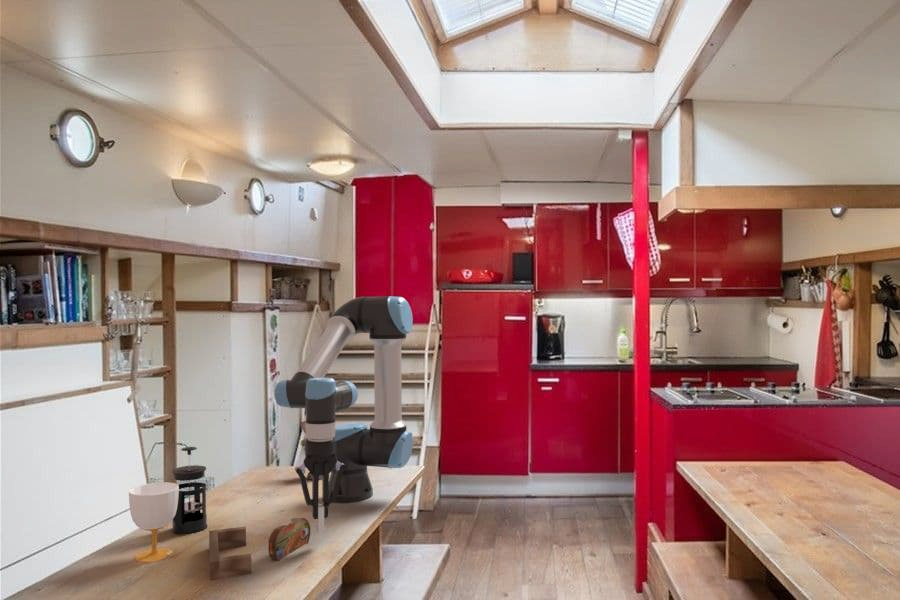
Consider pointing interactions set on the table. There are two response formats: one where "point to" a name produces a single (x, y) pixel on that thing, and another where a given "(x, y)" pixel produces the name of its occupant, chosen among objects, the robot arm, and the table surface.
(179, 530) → the french press
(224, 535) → the shelf
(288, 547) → the tin
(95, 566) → the table surface
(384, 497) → the table surface
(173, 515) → the cup
